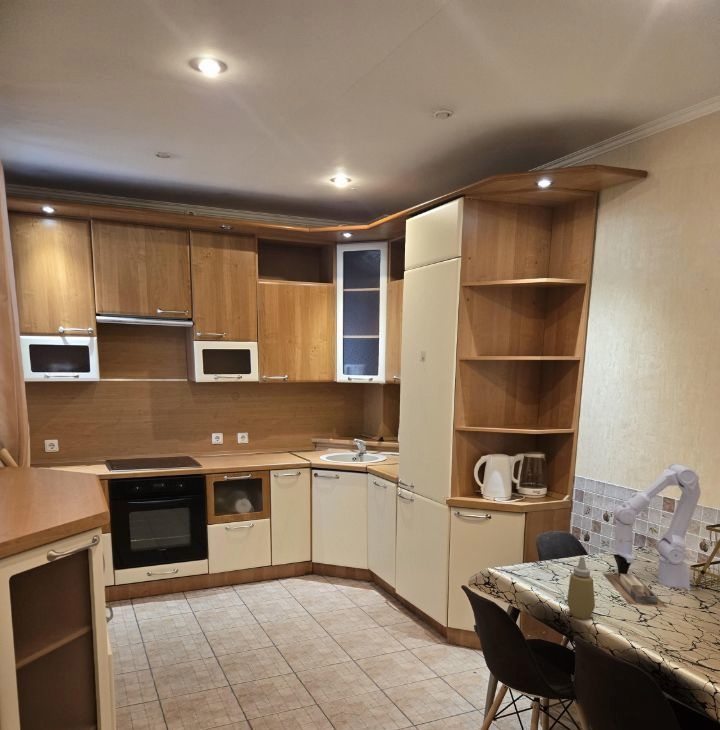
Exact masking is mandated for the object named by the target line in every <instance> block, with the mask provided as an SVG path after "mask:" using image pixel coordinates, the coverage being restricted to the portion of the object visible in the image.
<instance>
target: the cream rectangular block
mask: <svg viewBox="0 0 720 730" xmlns="http://www.w3.org/2000/svg"><path fill="white" fill-rule="evenodd" d="M620 582H621V583H622V584H623V585H624V586H625V587H626V589H627V590H628V591H629V592H630V593H631V590H633V591H634V592H635V593H636V594H641V595H644V586H643V585H642V584H641V583H640V582H639V581H638V580H637V579H636V578H635V577H634V575H633V574H629V573H627V574H621V579H620Z"/></svg>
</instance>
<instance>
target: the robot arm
mask: <svg viewBox="0 0 720 730" xmlns="http://www.w3.org/2000/svg"><path fill="white" fill-rule="evenodd" d="M699 480H700V477H699V475H698V474H697V473H696V471H695V470H694V469H693V468H690V467H687V466H684V465H683V464H680V463H672V464H670V465H669V466H668V468H665V469H664V470H663V471H662V472H661V474H660V475H659V476H657V478H655V479H654V481H653V482H651V484H649V485H648V487H646V488H645V489H644V490H643V491H636V492H633V493H632V494H631V497H630V498H628V499H627V500H626V501H625V502H624V501H623V502H621V505H617V506H616V507H615V508H614V510H613V512H612V513H613V516H614V519H615V525H614V530H615V531H614V544H613V547H612V549H610V552H612V553H613V558H614V560H615V562H616V567H617V571H618V575H620V576H621V574H628V572H629V569H630V566H631V565H632V564H634V562H635V561H634V559H635V558H634V556H633V555H634V554H633V530H634V529H633V524H634V522H635V521H636V519H637V516H638V515H639V514H640V513H642V512H643V511H644V510H645V509H646V508H648V507H649V506H650V505H651V499H652V498H654V497H655V496H657V495H658V494H660V493H661V492H662V491H663V490H664V489H666V488H667V487H670V486H678V488H679V489H680V491H681V495H680V496H679V500H678V503H677V506H676V508H675V511H674V514H673V516H672V519H671V521H670V525H669V528H668V530H667V532H665V533H663V535H662V536H661V539H660V540H658V541H657V542H656V544H655V545H656V546H655V548H656V551H657V553H659V556H658V569H657V570H658V572H657V573H658V574H657V582H658V583H659V584H661V585H663V586H665V587H669V588H683V589H684V588H685V589H686V590H687V591H691V588H690V587H691V570H690V566H689V565H688V563H687V562H685V561H684V560H685V558H686V552H685V550H686V542H685V537H686V534H687V532H688V530H689V526H690V523H691V521H692V518H693V516H694V513H695V510H696V508H697V505H698V502H699V500H700V496H701V488H700V483H699Z"/></svg>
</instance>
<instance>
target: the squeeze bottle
mask: <svg viewBox="0 0 720 730" xmlns="http://www.w3.org/2000/svg"><path fill="white" fill-rule="evenodd" d="M579 557H580V558H579V560H578V564H577V566H574V568H573V573H571V574H570V577H569V583H568V584H569V585H568V590H567V591H568V592H567V598H566V601H567V606H568V609H569V612H570V615H572V616H573V617H575V618H578V619H583V620H587V619H586V618H589V619H590V618H591V617H592V614H593V613H594V609H595V607H596V603H595V602H596V601H595V590H594V589H595V588H594V579H593V578H592V577H591V573H590V572H591V571H590V569H589V568H587V566H586V565H587V564H586V560H585V557H584V556H579Z"/></svg>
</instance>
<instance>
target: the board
mask: <svg viewBox="0 0 720 730" xmlns="http://www.w3.org/2000/svg"><path fill="white" fill-rule="evenodd" d="M602 575H603V576H604V577H605V579H607V581H608V582H609V583H610V584H611V585H612V587H613V588H614V589H615V590H616V591H617V592H618V593H619V594H620V596H621V597H622V598H623V599H624V600H625V601H626V603H627V604H629V605H636V606H643V607H644V606H645V607H655V608H669V607H668V606H667V605H666V604H665V603H664V602H663V601H662V600H661V599H660V598H659V597H658V596H657V595H656V594H655V593H654V592H653V591H652V590H650V589H649V587H647V586H646V585H645V583H643V582H642V580H640V579H639V578H638V576H634V575H633V576H634V577H635V578H636V579H637V580H638V581H639V582H640V583H641V584H642V585H643V586H644V595H641V594H636V593H635V592H634V591H633V590H631V593H630V592H629V591H628V590H627V589H626V587H625V586H624V585H623V584H622V583H621V582H620V579H621V576H620V575H619V574H610V573H602Z"/></svg>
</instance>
